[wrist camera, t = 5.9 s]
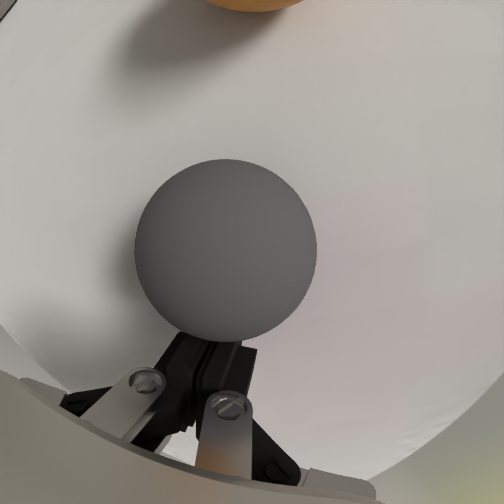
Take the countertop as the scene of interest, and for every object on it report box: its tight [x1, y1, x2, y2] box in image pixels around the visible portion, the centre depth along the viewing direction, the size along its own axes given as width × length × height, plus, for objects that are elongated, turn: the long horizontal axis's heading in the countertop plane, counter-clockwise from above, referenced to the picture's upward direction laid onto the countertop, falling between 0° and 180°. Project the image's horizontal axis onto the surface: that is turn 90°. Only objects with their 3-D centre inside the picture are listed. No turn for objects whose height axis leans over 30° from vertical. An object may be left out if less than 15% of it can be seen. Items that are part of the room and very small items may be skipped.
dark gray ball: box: [135, 159, 317, 342], centre depth 9 cm, size 6×6×6 cm
